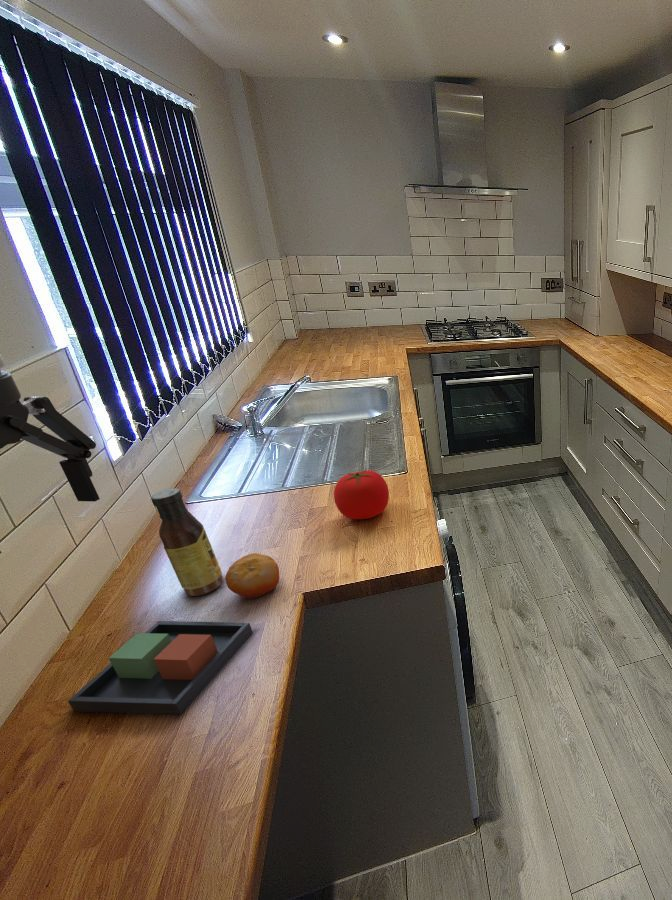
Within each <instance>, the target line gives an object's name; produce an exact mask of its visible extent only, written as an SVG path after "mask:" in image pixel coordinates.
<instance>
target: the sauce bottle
mask: <svg viewBox="0 0 672 900" xmlns="http://www.w3.org/2000/svg"><path fill="white" fill-rule="evenodd" d="M150 500H151V502H152V505H153V506H154V507H155V508H156V510H157V513H158V515H159V519H161V523H160V526H159V528H158V535H159V538H160V540H161V543H162V545H163V549H164V551H165V553H166V556H167V559H168V560H169V562H170V564H171V566H172V569H173V571H174V573H175V575H176V578H177V580H178V582H179V584H180V587H181V588H182V589H183V590H184V593H185V594H186V595H187V596H191V597H197V596H202V595H206V594H208V593H211V592H212V591H214V590H217V589H219V587H221V585H222V583H223V581H224V577H223V575H222V572H223V571H222V569H221V566H220V565H219V562H218V559H217V556H216V553H215V552H214V550H213V546H212V543H211V541H210V540H209V537H208V535H207V531H206V529H205V528H204V525H203V524H202V523H201V521H199V520H198V519H197V517H195V516H194V515H193V514H192V513H191V512H190V511H189V510H188V508H187V507H186V505H185V502H184V500H183V494H182V492H181V490H180V489H179V488H176V487H175V488H173V487H172V488H168V489H167V488H166V489H161V490H159V491H157V492H155V493H153V494H152V495H151V497H150Z"/></svg>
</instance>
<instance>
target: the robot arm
mask: <svg viewBox="0 0 672 900" xmlns="http://www.w3.org/2000/svg"><path fill="white" fill-rule="evenodd" d="M6 365H7V364H6V361H5V360H4V358H3V356H2V354H1V353H0V450H1V449H3V448H4V447H6V446H8V445H13V444H17V443H19V442H22V440H23V441H24V442H26V443H29V444H32V445H34V446H36V447H39V448H41V449H43V450H46V451H48V452H51V453H53V454H55V455H58V456H60V457H62V458H64V459H62V460H60V461H59V462H58V463H59V465H60V467H61V469H62V471H63V474H64V475H65V477H66V480H67V481H68V484H69V486H70V488H71V490H72V492H73V494H74V496H75V499H76V500H77V502H95V503H96V502H97V501H100V500H101V498H100V495H99V493H98V492H97V490H96V487H95V485H94V483H93V480H92V479H91V477H93V470H92V469H91V466H90V464H89V462H88V460H87V459H90V458H91V457H92V455H93V454H92V451H91V450H93V449H95V448H96V447H97V443H96V442H95V441H94V440H93V439H92V438H91V437H89V436H88V435H87V434H86V433H84V432H83V431H82V430H81V429H79V428H78V427H77V426H76V425H75V424H73V422H71V421H70V420H69V419H68V418H66V417H65V416H64V415H62V413H60V411H58V410H57V409H56V407H55V406H54V404H53V403H52V401H51V399H50V398H49V397H48V396H25V397H24V398H23V400H22V401H21V397H22V393H21V392H20V390H19V388H18V385H17V384H16V382H15V380H14V378H13V376H12V374H11V373H10V372H9V371H7V370H2V369H4V368H5V367H6ZM29 415H31V416H32V417H34V418H35V419H36V420H37V421H38V422H40V423H41V424H42V425H43V426H45V427H46V428H47V429H48V430H50V432H53V433H54V434H55V435H56V436H58V437H59V438H58V437H56V436H54V435H53V434H49V433H47V432H45V431H44V430H43V429H42V428H40V427H38V426H36V425H34V424H31V423H29V422H28V419H29ZM0 554H2V551H1V550H0Z"/></svg>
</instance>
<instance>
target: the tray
mask: <svg viewBox="0 0 672 900" xmlns="http://www.w3.org/2000/svg"><path fill="white" fill-rule="evenodd" d="M144 633H154V634H169V636H170V639H171V641H173V640H174V639H175V638H176V637H177V636H178V635H179V634H196V635H211V636H212V639H213V641H214V643H215V646H216V648H217V651H218V653H217V654H216V655H215V656H214V657H213V658H212V659H211V661H210V662H209V663H208V664H207V665H206V666H205V667H204V668H203V669H202V670H201V671H200V672H199V674H198V675H197V676H196V677H195V678H194V679H193V680H176V679H163V678H162V676H161V674H160V672H158V673H157V674H156V675H155V676H154V677H153V678H152V679H143V678H119V676H118V675H117V673H116V671H115V669H114V667H113V665H112V664H111V662H110V663H108V665H107V666H106V667H104V668H103V669H102V670H101V671H99V673H98V674H96V676H94V677H93V678H91V680H89V682H88V683H86V684H85V685H84V686H83V687H82V688H81V689H79V690H78V691H77V692H76V693H75V694H73V695H72V697H70V698H69V699H67V702H68V704H69V706H70V707H71V709H72V711H73V712H77V713H78V712H80V713H81V712H82V713H110V714H111V713H115V714H144V715H145V714H149V715H150V714H152V715H178V716H179V715H182V714H183V713H184V712H185V711H186V709H187V708H188V707H189V706H190V705H191V704H192V703H193V701H194V700H195V699H196V698H197V697H198V696H199V695H200V694H201V692H203V690H204V689H205V688H206V687H207V686H208V684H209V683H210V682H212V680H213V679H214V678H215V676H217V674H218V673H219V672H220V671H221V670H222V669H223V667H225V665H226V664H227V663H228V662H229V661H230V659H231V658H233V656H234V655H235V654H236V653H237V652H238V651H239V649H240V648H241V647H242V646H243V645H244V643H245V642H246V641H247V640H248V639H249V638H250V637H251V636H252V634H253V633H254V631H253V629H252V626H251V623H250V622H229V621H225V622H224V621H185V620H182V621H181V620H180V621H179V620H177V621H175V620H158V621H156V622H155V623H154V624H153V625H152V626H150V628H149V629H148V630H146V631H145V632H144Z"/></svg>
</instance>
